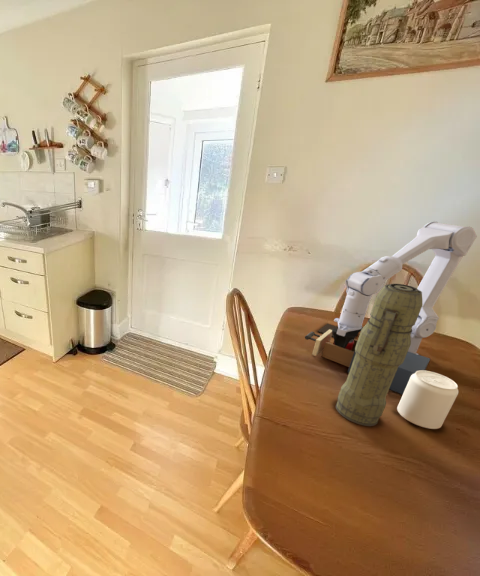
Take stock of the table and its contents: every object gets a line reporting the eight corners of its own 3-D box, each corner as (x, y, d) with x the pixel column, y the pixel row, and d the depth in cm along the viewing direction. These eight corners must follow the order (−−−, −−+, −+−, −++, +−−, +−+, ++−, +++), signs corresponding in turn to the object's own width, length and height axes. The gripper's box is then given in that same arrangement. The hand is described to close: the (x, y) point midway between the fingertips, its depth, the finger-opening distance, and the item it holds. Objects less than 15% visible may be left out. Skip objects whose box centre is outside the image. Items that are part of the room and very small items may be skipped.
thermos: (380, 409, 82) (432, 285, 69) (375, 435, 74) (432, 300, 61) (339, 393, 87) (379, 276, 75) (330, 416, 80) (374, 289, 67)
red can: (334, 348, 106) (339, 333, 104) (351, 354, 102) (356, 339, 100) (329, 353, 103) (333, 337, 101) (346, 359, 99) (351, 344, 97)
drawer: (298, 349, 107) (302, 334, 105) (311, 338, 114) (315, 324, 112) (361, 374, 94) (367, 358, 92) (373, 360, 100) (378, 345, 98)
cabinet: (347, 372, 97) (354, 351, 94) (360, 358, 104) (367, 338, 101) (411, 398, 86) (421, 375, 83) (420, 380, 93) (430, 358, 90)
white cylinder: (450, 433, 74) (471, 392, 70) (410, 428, 76) (429, 388, 72) (424, 409, 82) (442, 371, 77) (388, 405, 83) (404, 367, 79)
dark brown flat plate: (327, 324, 126) (327, 323, 126) (357, 334, 118) (358, 333, 118) (317, 331, 120) (317, 330, 120) (348, 342, 113) (348, 341, 113)
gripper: (346, 300, 104) (335, 336, 109) (330, 312, 96) (319, 350, 101) (373, 307, 99) (360, 344, 104) (358, 320, 90) (345, 360, 95)
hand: (341, 348), depth 102 cm, fingers open, 6 cm apart
